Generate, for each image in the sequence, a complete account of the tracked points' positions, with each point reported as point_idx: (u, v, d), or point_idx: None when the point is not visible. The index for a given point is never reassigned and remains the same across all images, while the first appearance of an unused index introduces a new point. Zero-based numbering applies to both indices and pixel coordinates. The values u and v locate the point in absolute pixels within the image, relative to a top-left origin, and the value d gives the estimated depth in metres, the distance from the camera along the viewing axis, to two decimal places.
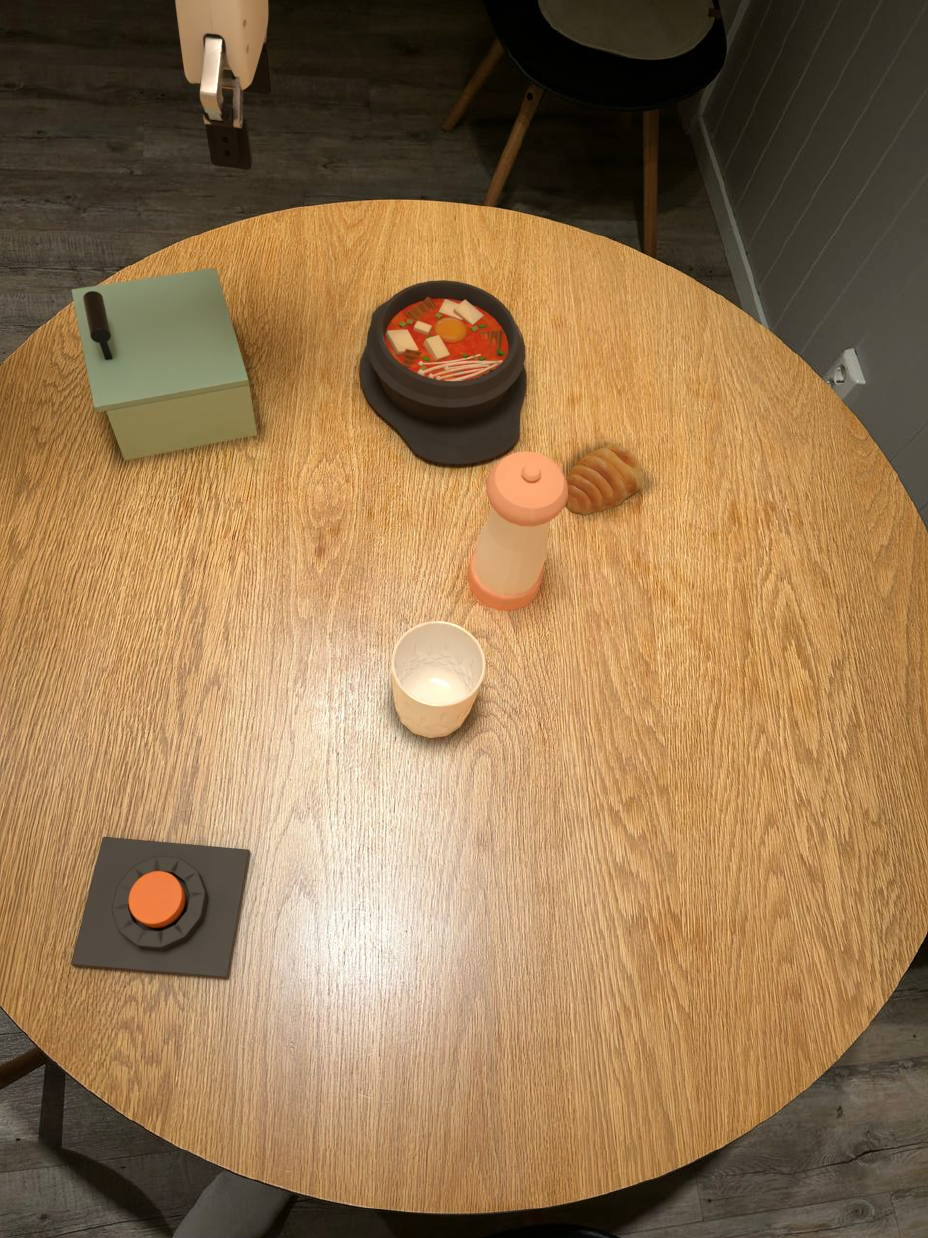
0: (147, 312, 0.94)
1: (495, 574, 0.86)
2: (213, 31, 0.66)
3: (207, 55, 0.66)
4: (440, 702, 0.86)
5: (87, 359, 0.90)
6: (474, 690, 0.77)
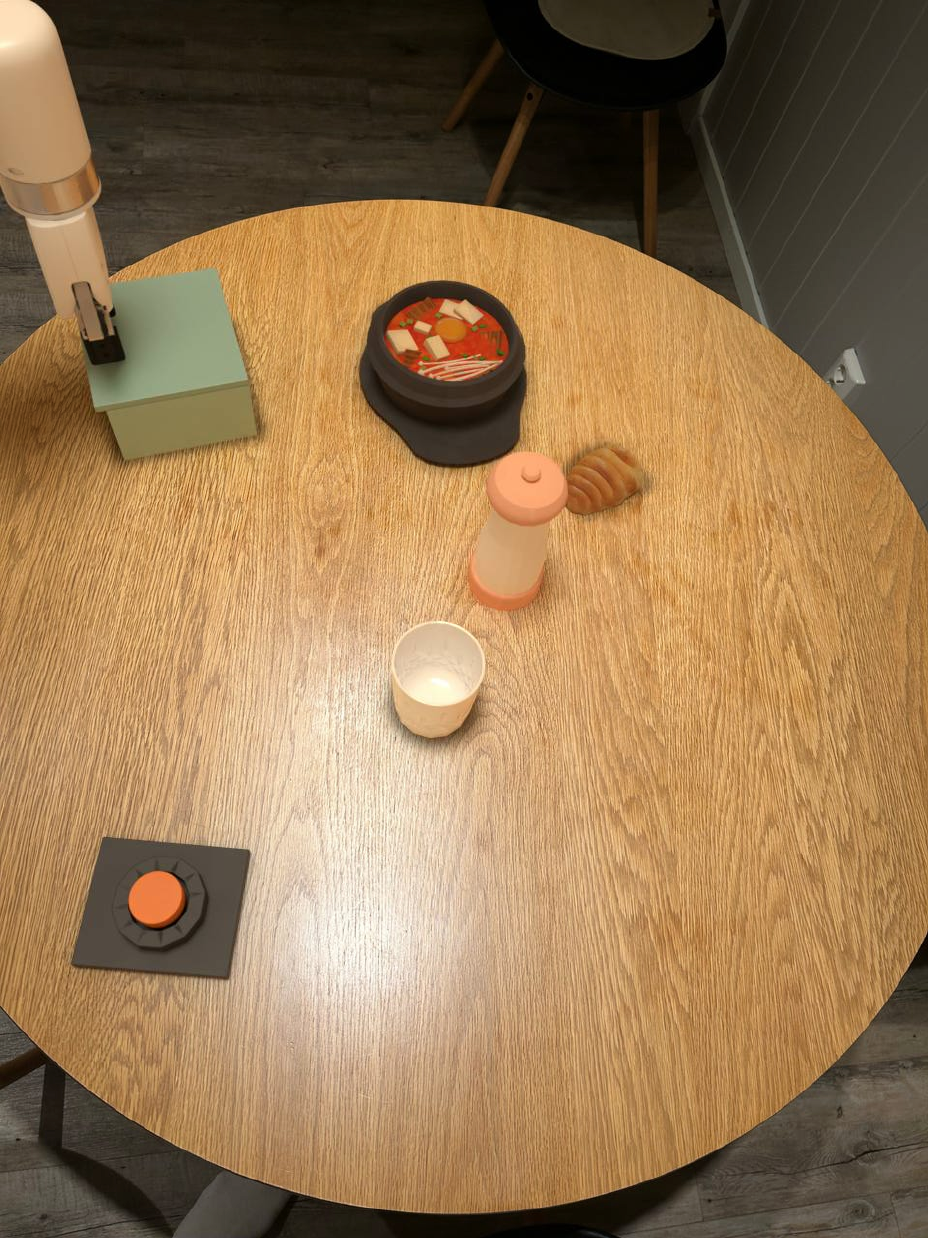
0: (147, 312, 0.94)
1: (495, 574, 0.86)
2: (79, 280, 0.78)
3: (82, 304, 0.80)
4: (440, 702, 0.86)
5: (87, 359, 0.90)
6: (474, 690, 0.77)
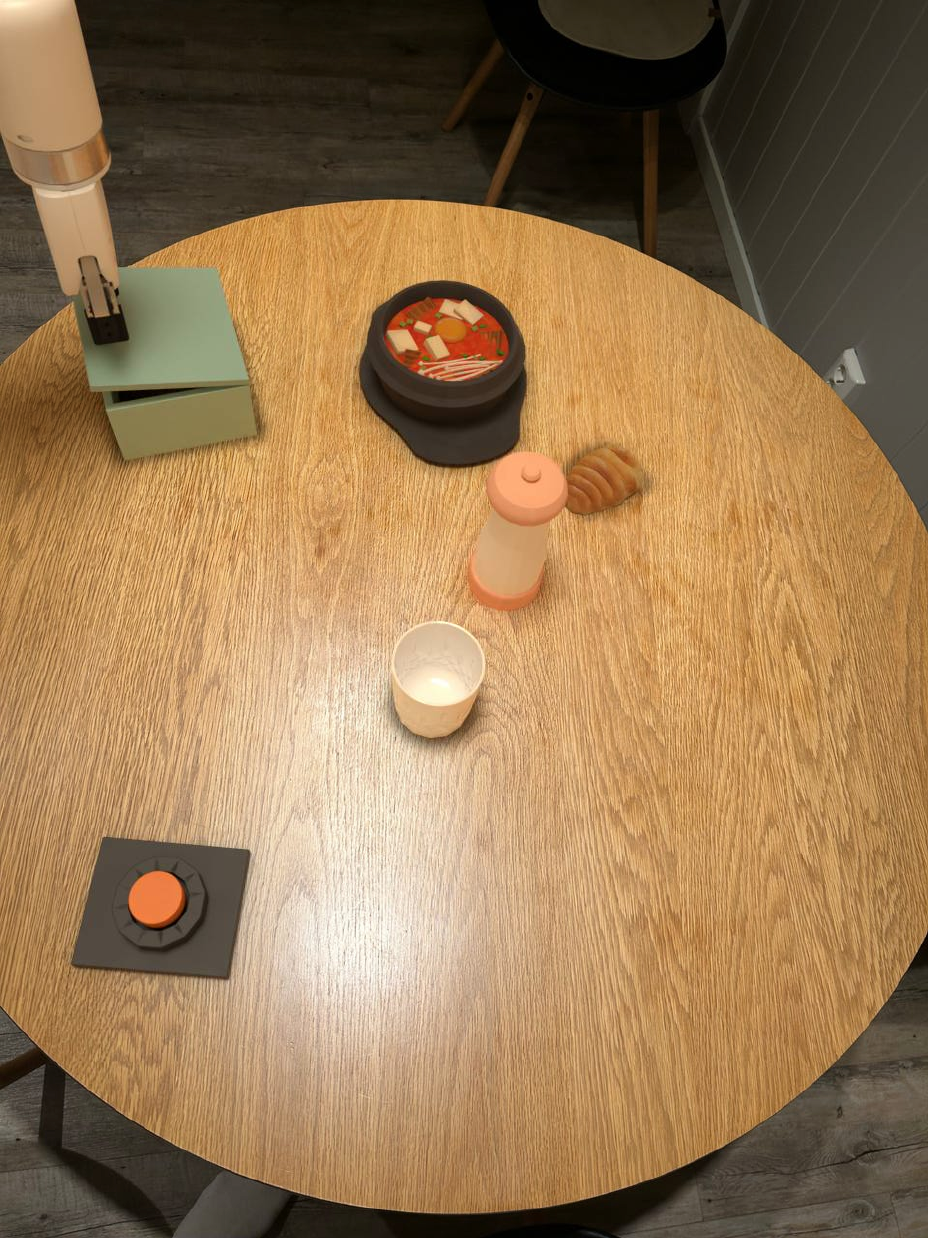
0: (146, 301, 0.92)
1: (495, 574, 0.86)
2: (86, 254, 0.77)
3: (88, 279, 0.78)
4: (440, 702, 0.86)
5: (83, 338, 0.88)
6: (474, 690, 0.77)
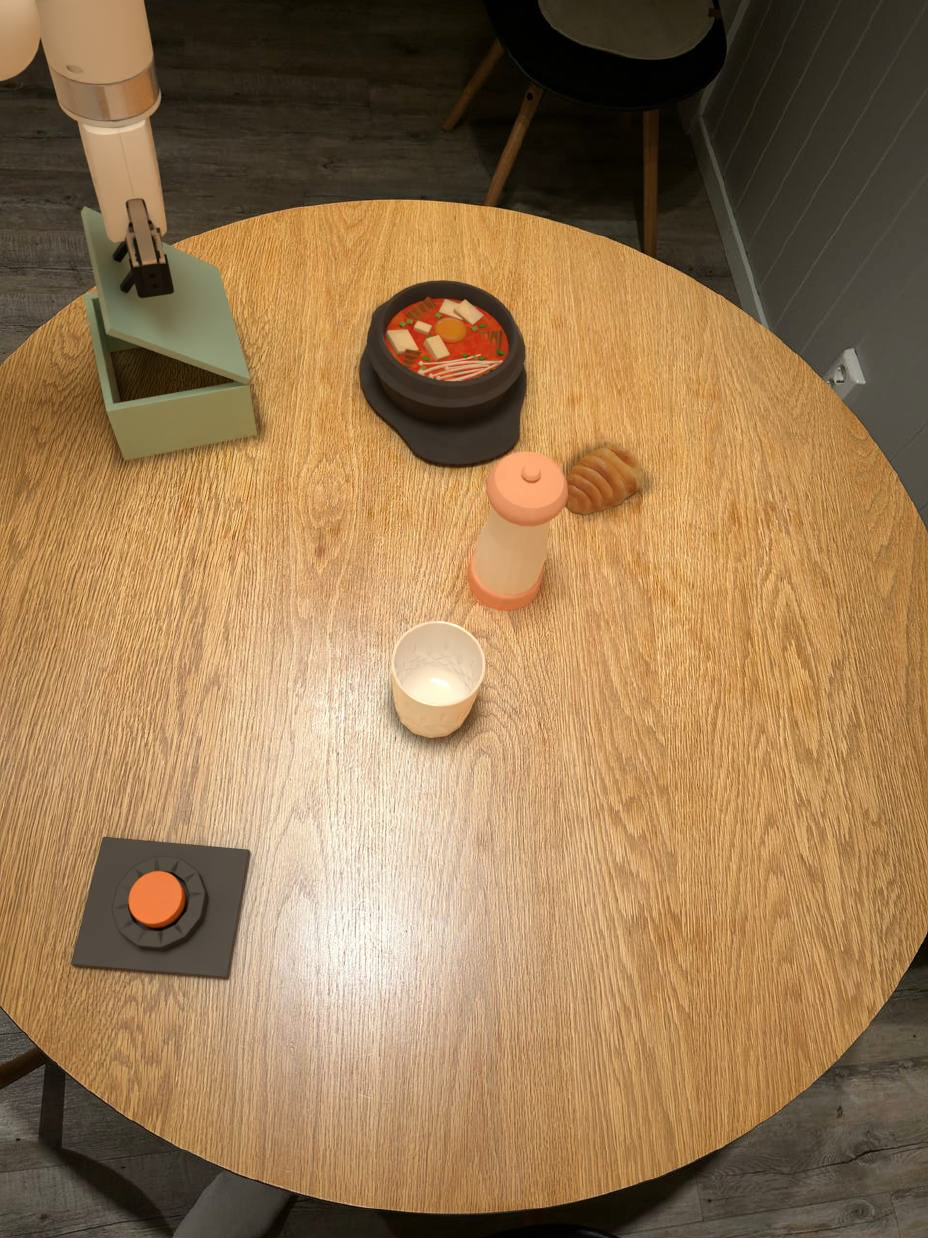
0: None
1: (495, 574, 0.86)
2: (134, 196, 0.74)
3: (136, 224, 0.75)
4: (440, 702, 0.86)
5: (102, 280, 0.83)
6: (474, 690, 0.77)
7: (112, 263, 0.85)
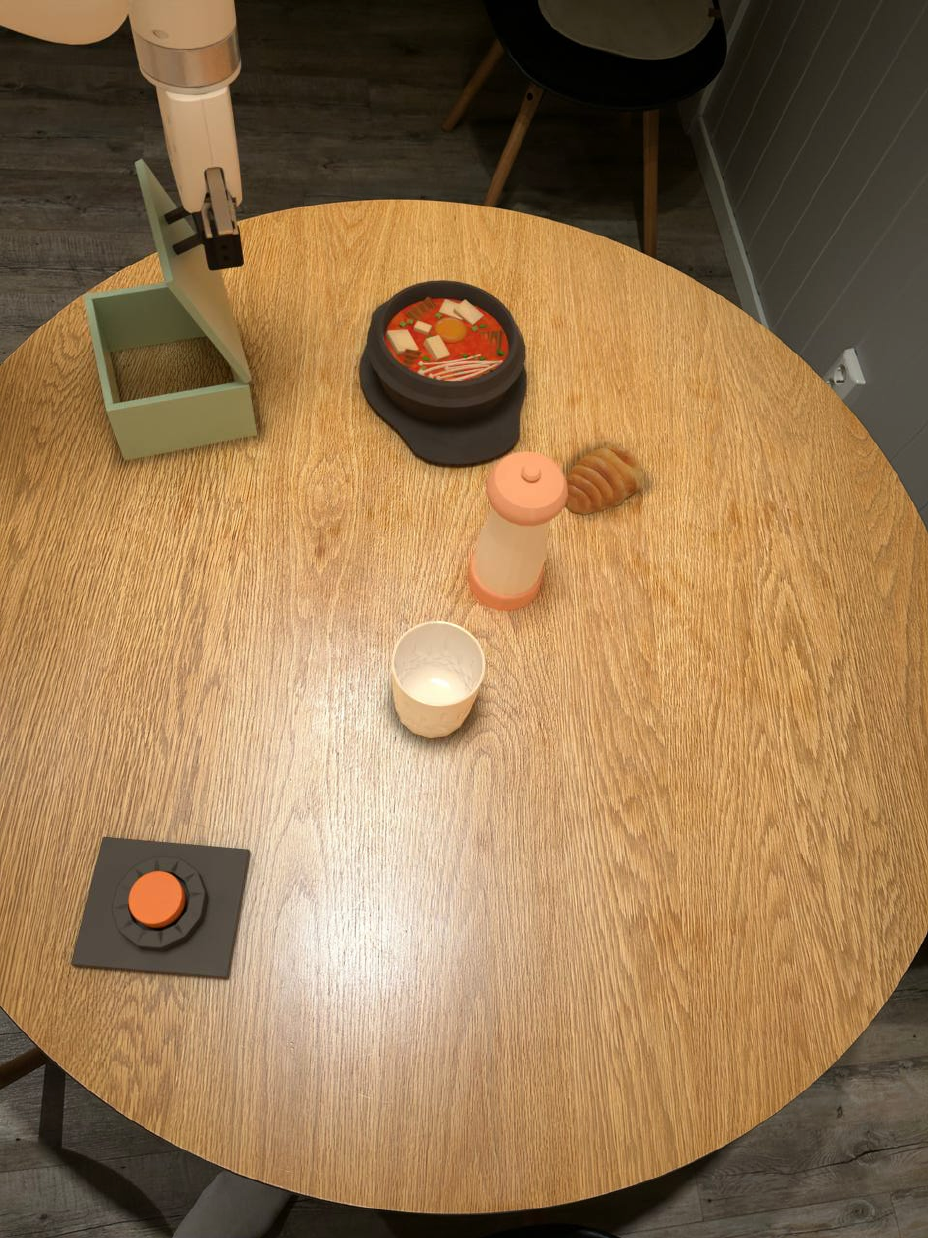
0: None
1: (495, 574, 0.86)
2: (213, 165, 0.73)
3: (213, 193, 0.75)
4: (440, 702, 0.86)
5: (162, 233, 0.81)
6: (474, 690, 0.77)
7: (165, 222, 0.83)
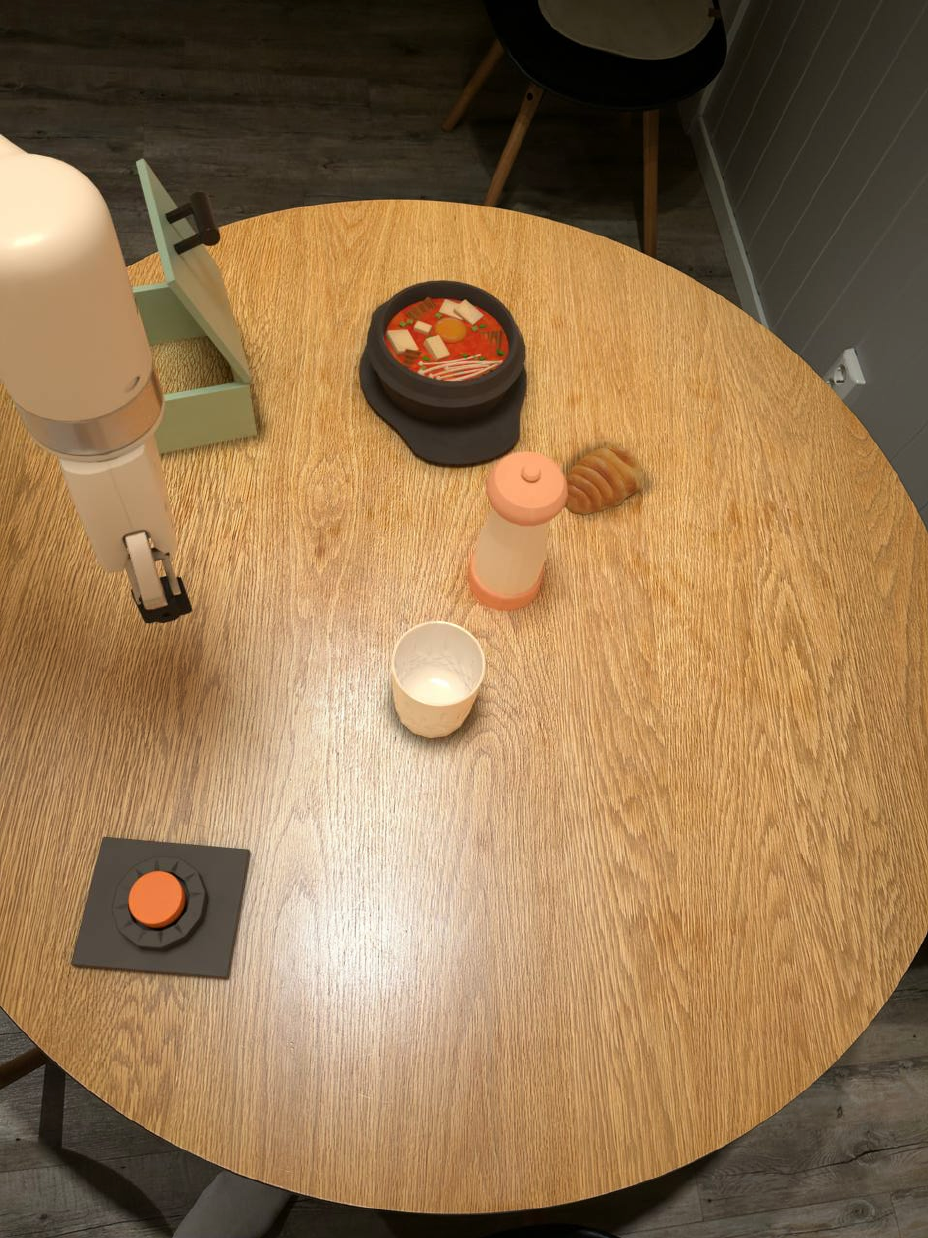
0: None
1: (495, 574, 0.86)
2: (134, 530, 0.54)
3: (135, 557, 0.55)
4: (440, 702, 0.86)
5: (163, 232, 0.81)
6: (474, 690, 0.77)
7: (166, 221, 0.83)
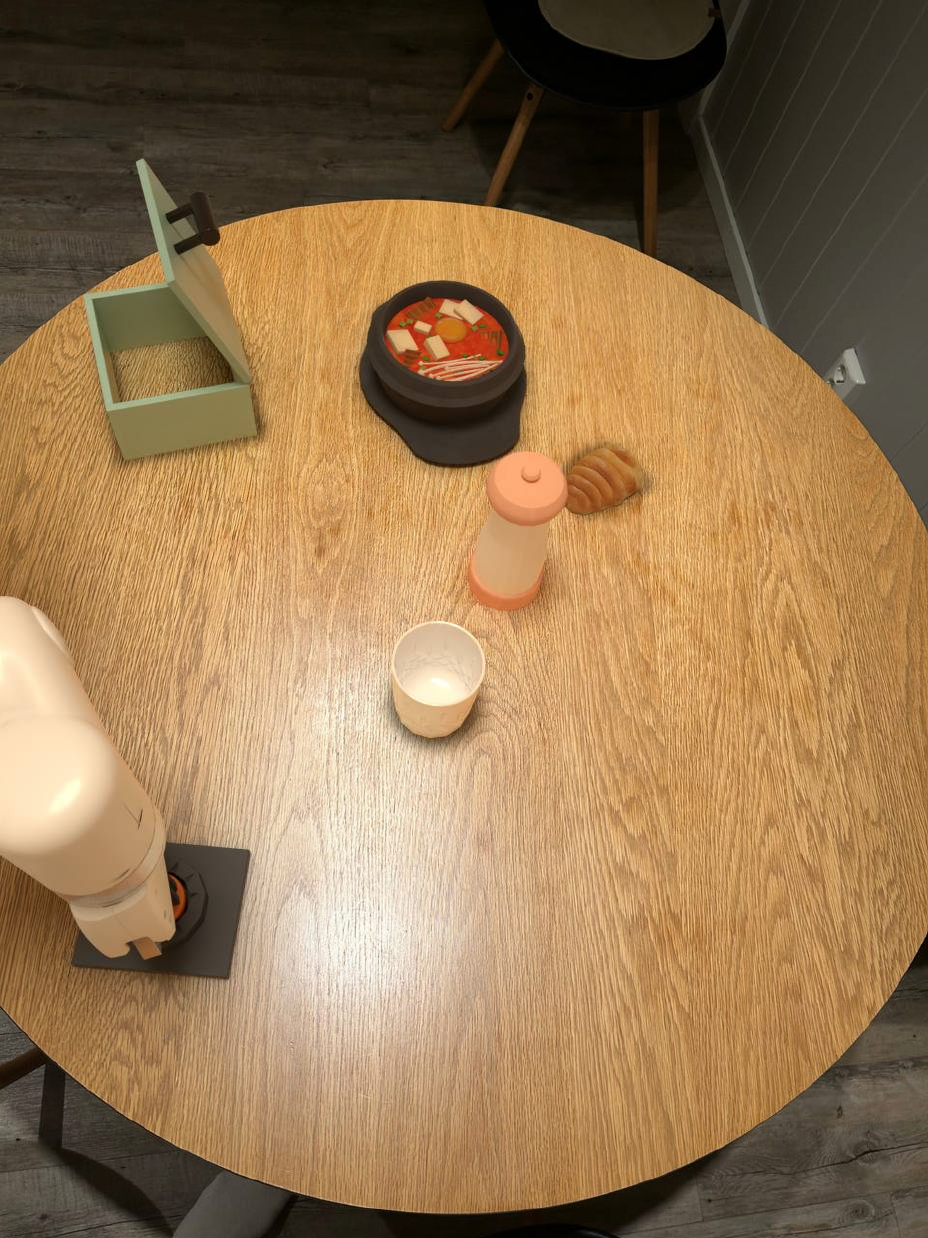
0: None
1: (495, 574, 0.86)
2: (135, 939, 0.60)
3: (138, 943, 0.62)
4: (440, 702, 0.86)
5: (163, 232, 0.81)
6: (474, 690, 0.77)
7: (166, 221, 0.83)
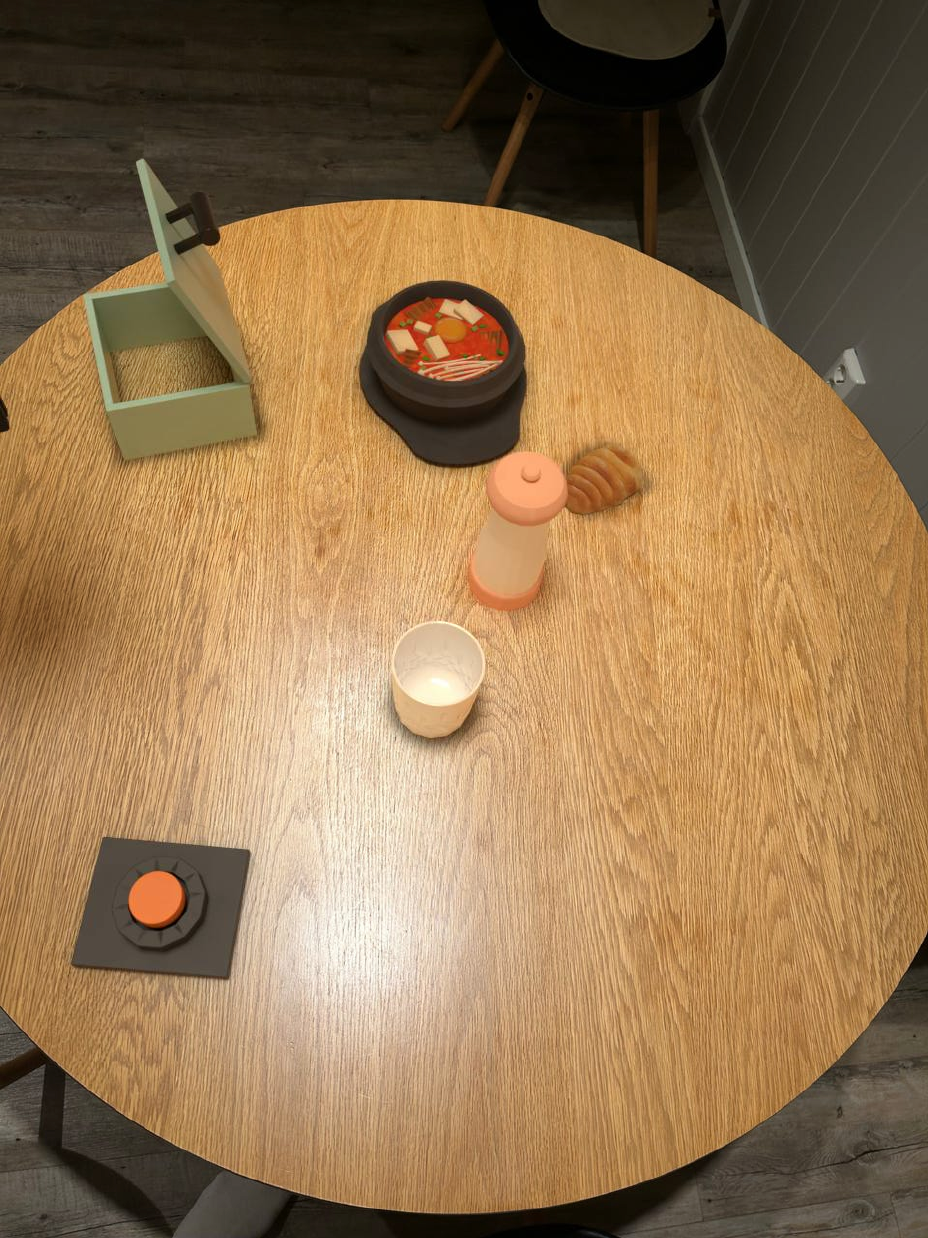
0: None
1: (495, 574, 0.86)
2: None
3: None
4: (440, 702, 0.86)
5: (163, 232, 0.81)
6: (474, 690, 0.77)
7: (166, 221, 0.83)
